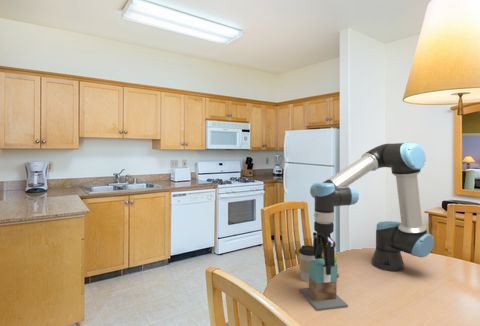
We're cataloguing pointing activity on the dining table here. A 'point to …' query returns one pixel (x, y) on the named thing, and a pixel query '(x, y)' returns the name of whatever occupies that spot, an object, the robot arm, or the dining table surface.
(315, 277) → the teal brick
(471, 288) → the dining table surface
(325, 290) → the walnut brick
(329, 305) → the mat
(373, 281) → the dining table surface
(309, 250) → the coffee cup
